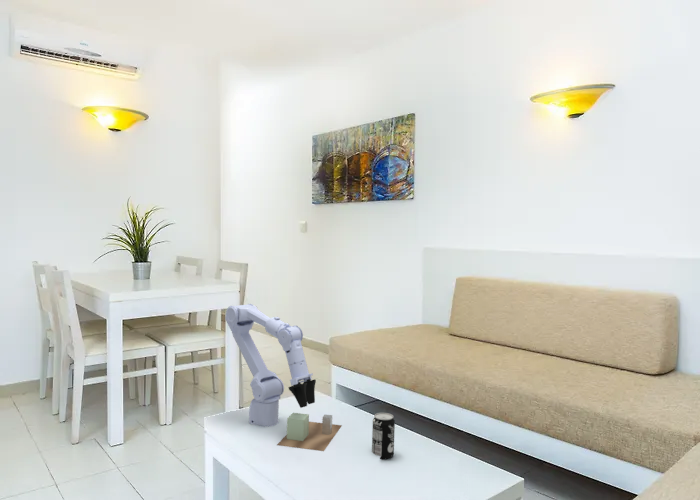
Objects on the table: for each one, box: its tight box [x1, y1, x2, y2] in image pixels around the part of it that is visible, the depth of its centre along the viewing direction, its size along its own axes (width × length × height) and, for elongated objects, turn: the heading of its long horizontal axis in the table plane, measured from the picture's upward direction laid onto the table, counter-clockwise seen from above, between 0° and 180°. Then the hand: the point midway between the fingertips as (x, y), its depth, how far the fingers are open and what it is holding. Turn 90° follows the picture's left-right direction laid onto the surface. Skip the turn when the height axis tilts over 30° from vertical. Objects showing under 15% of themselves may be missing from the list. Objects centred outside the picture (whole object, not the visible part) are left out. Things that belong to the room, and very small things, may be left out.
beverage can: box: [371, 412, 396, 460], centre depth 155 cm, size 7×7×12 cm
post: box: [321, 414, 333, 435], centre depth 168 cm, size 3×3×6 cm
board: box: [276, 421, 343, 452], centre depth 166 cm, size 15×22×1 cm
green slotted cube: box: [286, 412, 310, 441], centre depth 164 cm, size 5×5×7 cm
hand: (307, 405), depth 164 cm, fingers open, 7 cm apart
